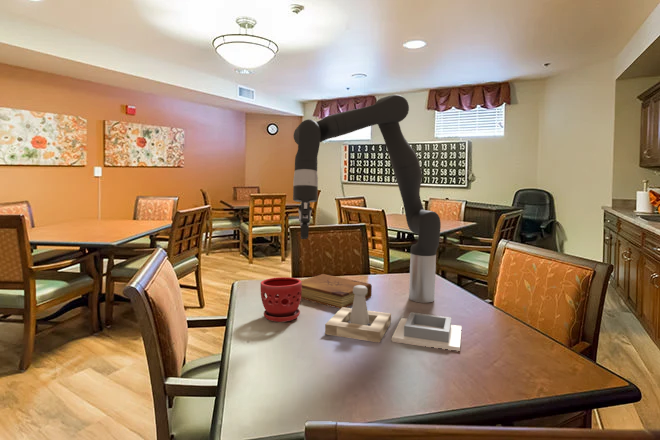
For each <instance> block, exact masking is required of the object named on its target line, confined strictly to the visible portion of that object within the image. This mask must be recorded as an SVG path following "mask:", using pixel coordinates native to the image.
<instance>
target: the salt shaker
mask: <svg viewBox="0 0 660 440" xmlns="http://www.w3.org/2000/svg"><path fill="white" fill-rule="evenodd" d="M353 293H354V294H355V296H354V301H353V305H351V306H352V307H351V308H352V311H351V316H350V321H349V323H353V324H360V325H367V326H369V325H370V324H369V317H368V311H369V310H368V306H367V305H368V304H367V299H365V295H366V294H367V287H366V286H363V285H356V286H354V288H353ZM367 310H368V311H367Z"/></svg>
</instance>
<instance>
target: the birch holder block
mask: <svg viewBox="0 0 660 440" xmlns="http://www.w3.org/2000/svg"><path fill="white" fill-rule="evenodd" d="M351 311H352V307H351V308H350V307H346V308H344V307H342V308H341V309H339V310H338V311H337V312H336V313H335V314H334V315H333V316H332V317H330V319H329V320H328V321H327V322H326V323H325V324H324V334H325V335H328V336H332V337H333V336H334V337H341V338H347V339H348V338H349V339H354V340H360V341H367V342H371V343H372V342H373V343H380V342H381V341H382V339H383V338H384V335H385V333H386V332H387V330H388V328H389V327H390V325H391V324H392V323H391V321H392V313H390V312H382V311H374V310H368V309H367V311H368V317H369V324H368V326H367V325H360V324H353V323H350V316H351Z"/></svg>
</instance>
